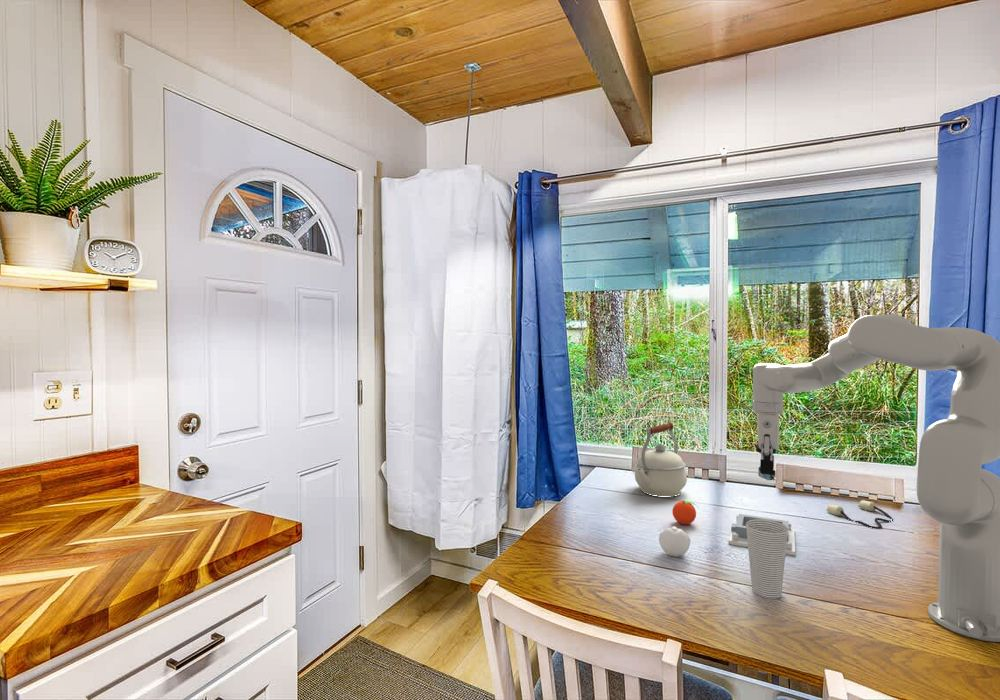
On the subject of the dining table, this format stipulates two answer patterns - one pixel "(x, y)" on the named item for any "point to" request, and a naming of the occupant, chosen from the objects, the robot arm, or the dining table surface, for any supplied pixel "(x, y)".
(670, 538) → the white rounded piece
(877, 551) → the dining table surface
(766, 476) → the push button
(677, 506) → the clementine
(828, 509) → the cable
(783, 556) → the cup
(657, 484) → the kettle
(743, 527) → the frame
